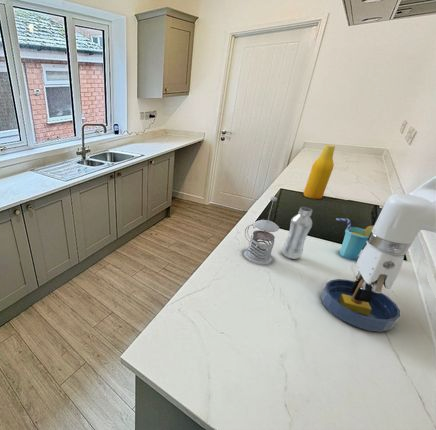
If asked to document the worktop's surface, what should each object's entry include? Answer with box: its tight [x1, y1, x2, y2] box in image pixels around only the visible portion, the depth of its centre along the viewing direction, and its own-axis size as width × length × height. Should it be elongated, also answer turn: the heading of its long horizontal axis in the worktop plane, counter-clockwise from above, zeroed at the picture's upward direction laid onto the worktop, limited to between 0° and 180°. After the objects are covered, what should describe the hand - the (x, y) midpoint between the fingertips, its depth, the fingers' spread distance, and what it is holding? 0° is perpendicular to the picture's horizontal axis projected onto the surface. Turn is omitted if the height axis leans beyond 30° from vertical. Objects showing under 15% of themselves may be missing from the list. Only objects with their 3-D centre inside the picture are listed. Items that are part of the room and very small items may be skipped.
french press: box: [243, 196, 280, 265], centre depth 96 cm, size 10×12×25 cm
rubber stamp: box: [339, 278, 373, 315], centre depth 74 cm, size 6×4×10 cm, turn 64°
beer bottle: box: [303, 144, 336, 200], centre depth 145 cm, size 9×9×29 cm
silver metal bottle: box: [281, 206, 313, 260], centre depth 96 cm, size 6×7×20 cm
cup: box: [335, 217, 374, 261], centre depth 97 cm, size 14×8×15 cm, turn 63°
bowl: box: [320, 278, 401, 333], centre depth 76 cm, size 16×16×4 cm
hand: (359, 296), depth 75 cm, fingers closed on rubber stamp, 2 cm apart
